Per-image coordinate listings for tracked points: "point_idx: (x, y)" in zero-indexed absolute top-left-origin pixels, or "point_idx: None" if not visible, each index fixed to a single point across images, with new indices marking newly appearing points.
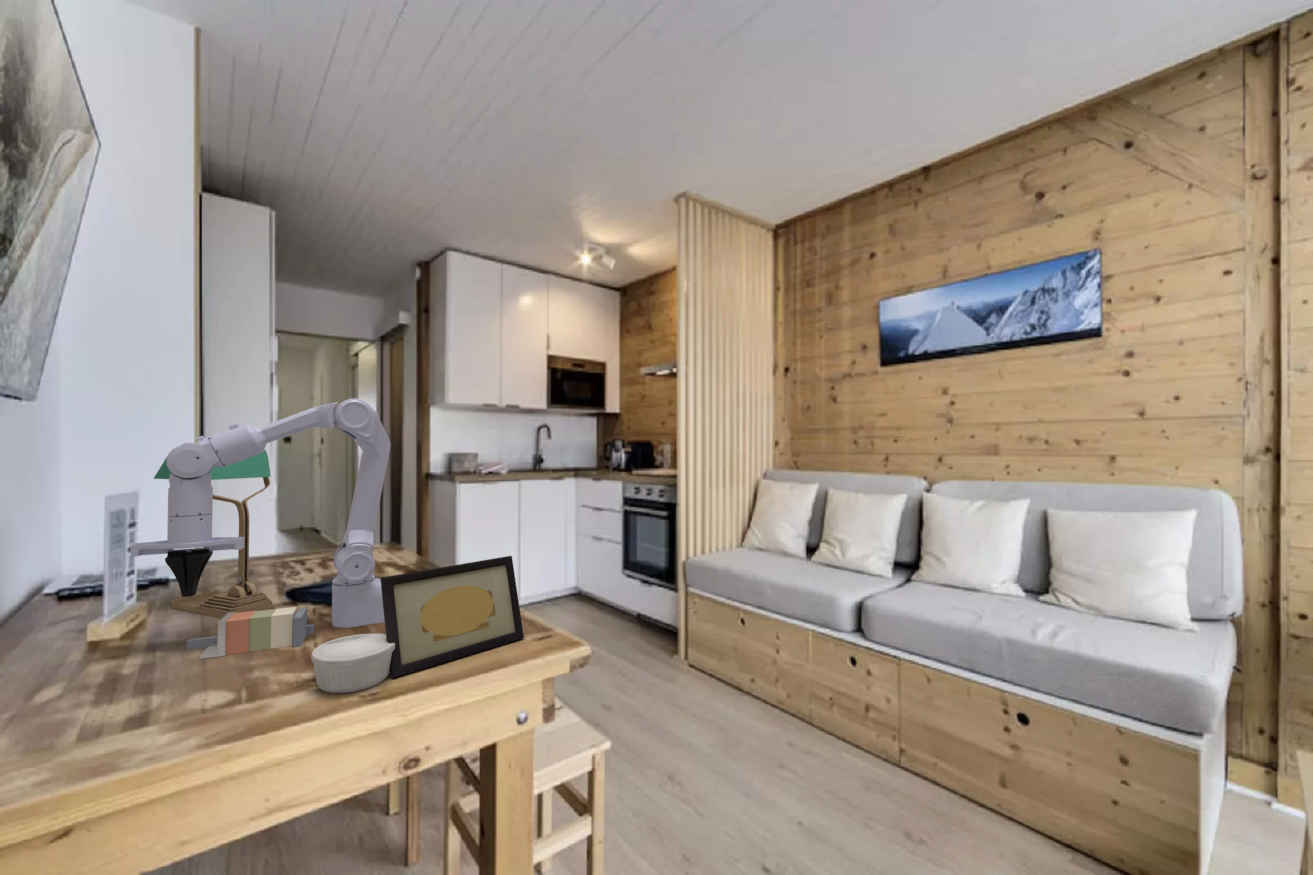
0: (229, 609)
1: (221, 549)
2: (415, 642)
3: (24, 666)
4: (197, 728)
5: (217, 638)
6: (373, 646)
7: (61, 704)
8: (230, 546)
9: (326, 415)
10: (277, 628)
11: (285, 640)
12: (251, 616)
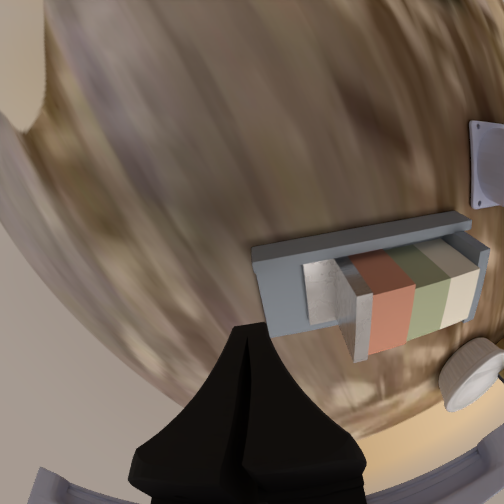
0: None
1: (416, 484)
2: None
3: (23, 244)
4: (355, 425)
5: (314, 260)
6: (487, 384)
7: (193, 386)
8: (456, 475)
9: None
10: None
11: None
12: (409, 329)
